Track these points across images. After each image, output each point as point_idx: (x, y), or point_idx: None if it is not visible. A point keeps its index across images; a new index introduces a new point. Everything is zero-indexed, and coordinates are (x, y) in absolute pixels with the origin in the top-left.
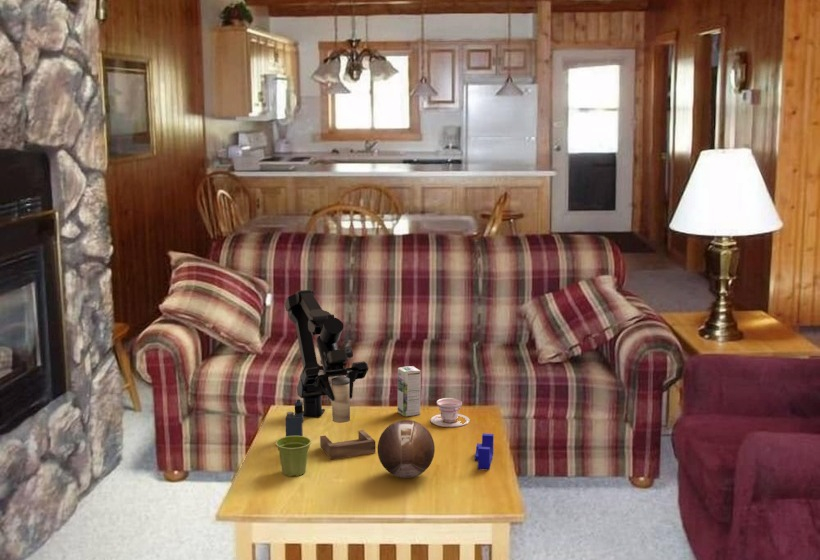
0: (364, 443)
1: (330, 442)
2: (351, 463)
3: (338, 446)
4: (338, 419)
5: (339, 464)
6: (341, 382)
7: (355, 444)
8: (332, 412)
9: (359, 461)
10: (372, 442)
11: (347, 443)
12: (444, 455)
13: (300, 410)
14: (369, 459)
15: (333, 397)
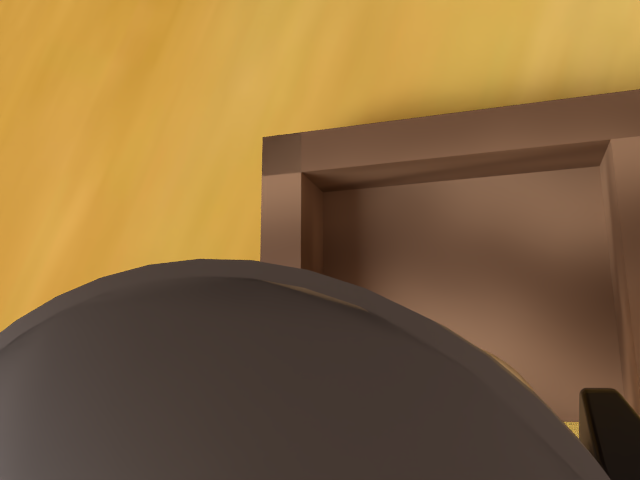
0: (350, 127)
1: (634, 214)
2: (507, 22)
3: (583, 98)
4: (503, 361)
5: (599, 22)
6: (290, 268)
7: (425, 117)
8: None
9: (444, 45)
10: (288, 136)
11: (484, 147)
12: (2, 27)
13: None
14: (371, 63)
15: (601, 410)
